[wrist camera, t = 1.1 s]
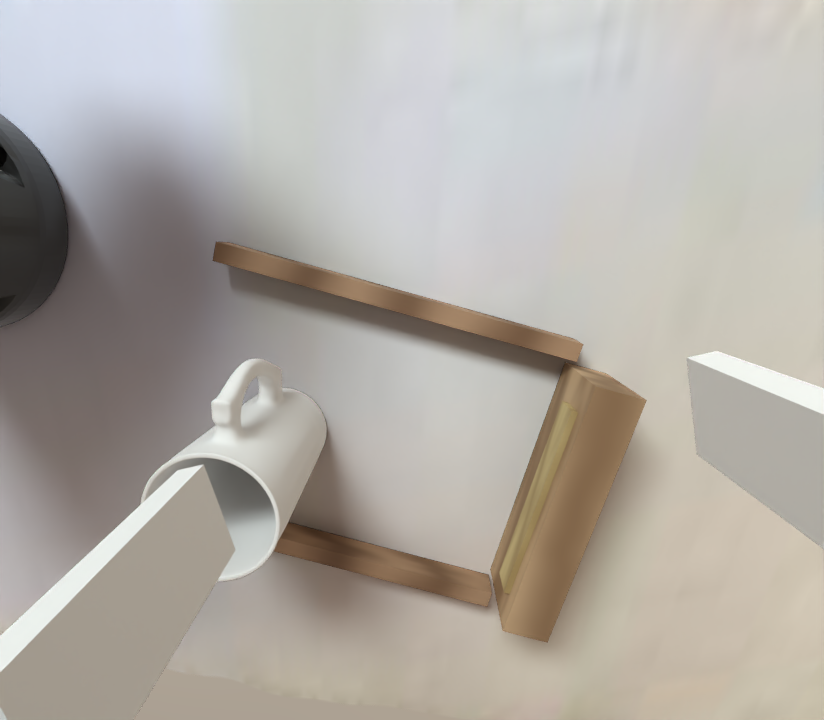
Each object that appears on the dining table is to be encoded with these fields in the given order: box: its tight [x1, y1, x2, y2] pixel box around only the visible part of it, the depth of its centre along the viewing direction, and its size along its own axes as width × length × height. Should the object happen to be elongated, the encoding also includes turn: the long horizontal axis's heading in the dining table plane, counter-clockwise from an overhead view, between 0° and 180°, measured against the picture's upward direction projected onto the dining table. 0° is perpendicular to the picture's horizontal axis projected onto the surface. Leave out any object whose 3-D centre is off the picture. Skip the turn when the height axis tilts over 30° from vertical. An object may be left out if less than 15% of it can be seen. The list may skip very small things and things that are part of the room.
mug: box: [140, 359, 327, 582], centre depth 28 cm, size 10×7×12 cm, turn 174°
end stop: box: [490, 362, 647, 642], centre depth 31 cm, size 3×17×6 cm, turn 165°
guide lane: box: [213, 242, 583, 607], centre depth 33 cm, size 24×20×2 cm
